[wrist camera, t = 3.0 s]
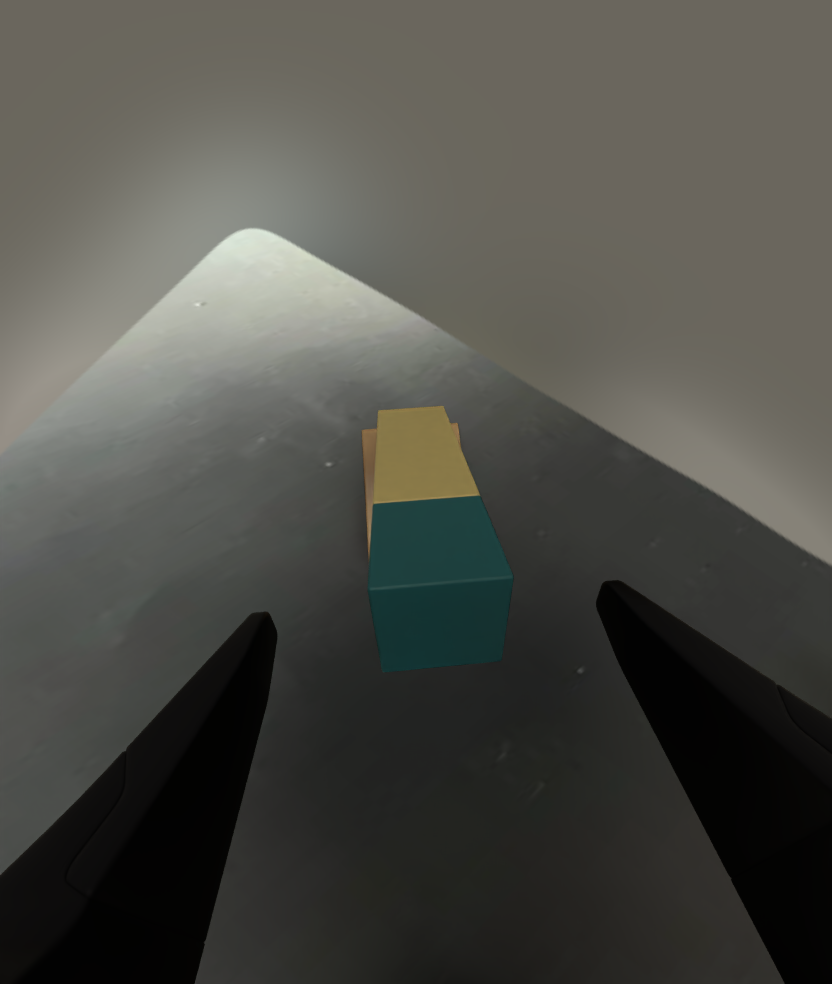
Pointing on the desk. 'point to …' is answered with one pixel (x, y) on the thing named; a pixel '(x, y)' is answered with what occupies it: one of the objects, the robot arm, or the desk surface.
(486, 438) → the desk surface
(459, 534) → the two-tone square bar
